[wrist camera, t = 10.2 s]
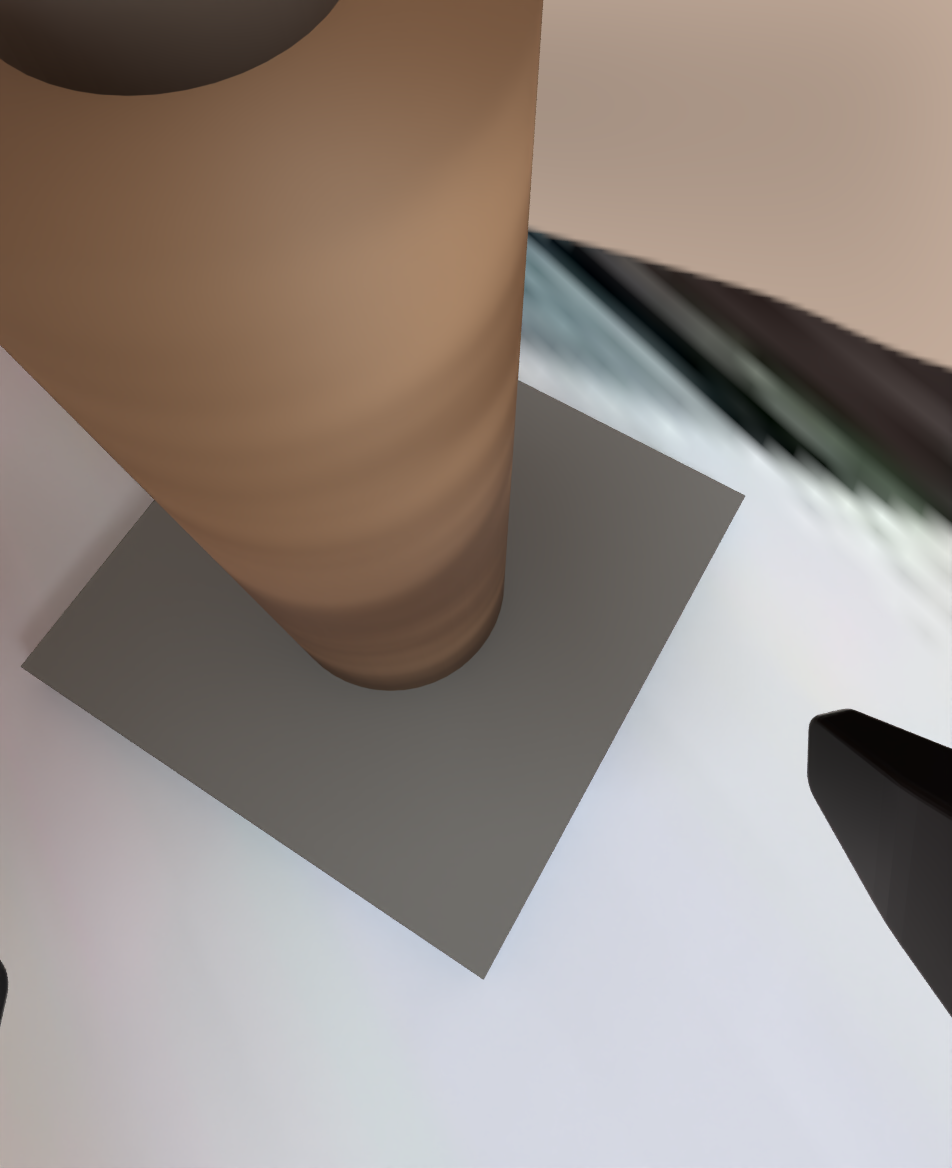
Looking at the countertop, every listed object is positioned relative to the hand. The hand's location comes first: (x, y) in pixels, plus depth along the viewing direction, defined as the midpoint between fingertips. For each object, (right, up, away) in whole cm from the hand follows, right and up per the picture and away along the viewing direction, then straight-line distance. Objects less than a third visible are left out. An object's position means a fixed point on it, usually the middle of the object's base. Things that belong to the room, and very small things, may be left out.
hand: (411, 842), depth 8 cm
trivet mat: (-1, +3, +10) cm, 10 cm away
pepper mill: (-1, +3, +9) cm, 10 cm away
